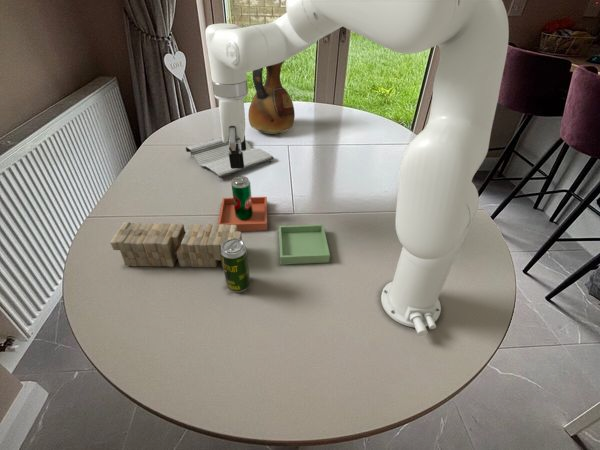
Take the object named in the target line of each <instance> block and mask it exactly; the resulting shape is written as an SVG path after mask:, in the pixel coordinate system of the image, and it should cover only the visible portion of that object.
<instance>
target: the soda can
mask: <svg viewBox="0 0 600 450" xmlns="http://www.w3.org/2000/svg"><path fill="white" fill-rule="evenodd" d="M231 192H232V198H233V201H234V209H235V216H236V217H237V218H238V219H240V220H247V219H249V218H250V217H251V216H252V215H253V209H252V197H253V196H252V186H251V181H250V179H249V178H248V177H247V176H244V175H238V176H235V177H233V178H232V181H231Z"/></svg>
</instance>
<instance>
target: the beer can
mask: <svg viewBox="0 0 600 450" xmlns="http://www.w3.org/2000/svg"><path fill="white" fill-rule="evenodd" d="M221 257H222V262H223V267H222V268H223V273H224V280H225V284H226V288H227V289H228V290H229V291H231V292H233V293H242V292H244V291H246V290H247V289H248V288H249V286H250V284H251V278H250V277H251V276H250V269H249V260H248V259H249V258H248V250H247V246H246V243H245V241H243V239H242V240H240V239H229V240H227V241H225V242H224V243H223V244H222V245H221ZM222 262H221V263H222Z"/></svg>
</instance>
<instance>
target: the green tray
mask: <svg viewBox="0 0 600 450" xmlns="http://www.w3.org/2000/svg"><path fill="white" fill-rule="evenodd" d="M278 241H279V243H278V244H279V257H280V258H279V260H280V261H279V262H280V263H279V264H280V265H298V264H299V265H300V264H302V265H303V264H321V263H323V264H325V263H330V259H331V254H330V249H329V245H328V240H327V234H326V230H325V226H324V224H298V225H279V226H278Z"/></svg>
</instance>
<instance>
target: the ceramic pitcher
mask: <svg viewBox="0 0 600 450" xmlns="http://www.w3.org/2000/svg"><path fill="white" fill-rule="evenodd" d="M284 63H285V61H283V62H281V63H278V64H275V65H271V66H267V67H265V70H266V71H265V72H266V78H265V82H264V81H263V69H264V68H260V69H257V70H254V71H252V82H253V85H254V89H255V94H254V96H253V98H252V99H251V102H250V105H249V107H248V123H249V126H250V127H251V128H253V129H254V130H257V131H259V132H260V133H264V134H270V135H274V134H275V135H276V134H280V133H282V132H285V131H287V130H290V129H291V128H292V127H293V125H294V123H295V117H296V115H295V114H296V113H295V106H294V103H293V100H292V98H291V95H290V94H289V92H288V91H287V90H286V88H284V87H283V85H282V82H281V81H282V80H281V72H282V65H283V64H284Z"/></svg>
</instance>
